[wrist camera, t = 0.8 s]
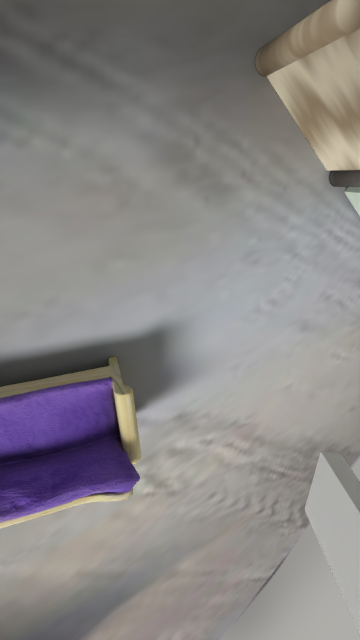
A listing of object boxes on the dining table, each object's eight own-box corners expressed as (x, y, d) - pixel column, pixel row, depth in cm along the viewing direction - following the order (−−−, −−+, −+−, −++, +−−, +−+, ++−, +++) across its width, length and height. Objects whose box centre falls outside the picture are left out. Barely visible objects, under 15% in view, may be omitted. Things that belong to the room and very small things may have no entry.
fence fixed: (250, 60, 27) (331, 7, 18) (267, 39, 26) (357, -24, 18) (335, 190, 33) (422, 195, 25) (349, 175, 33) (442, 174, 25)
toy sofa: (123, 352, 34) (141, 416, 25) (131, 418, 37) (150, 495, 28) (-117, 394, 29) (-203, 494, 20) (-80, 466, 32) (-140, 578, 23)
